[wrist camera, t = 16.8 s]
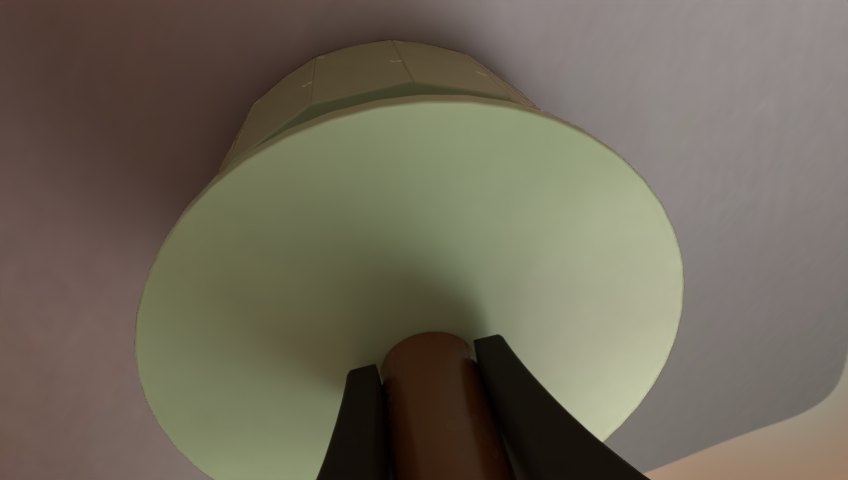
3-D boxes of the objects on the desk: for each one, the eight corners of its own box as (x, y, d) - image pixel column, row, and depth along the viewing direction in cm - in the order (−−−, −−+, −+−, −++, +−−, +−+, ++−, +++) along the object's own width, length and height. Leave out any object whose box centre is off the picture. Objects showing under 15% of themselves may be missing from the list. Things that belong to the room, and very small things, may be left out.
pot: (143, 183, 18) (80, 272, 13) (444, -45, 16) (491, -31, 11) (361, 377, 24) (368, 482, 20) (597, 233, 22) (667, 314, 17)
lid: (183, 507, 16) (127, 733, 12) (94, 57, 9) (-120, 181, 5) (585, 477, 19) (666, 653, 14) (743, 108, 12) (994, 220, 7)
